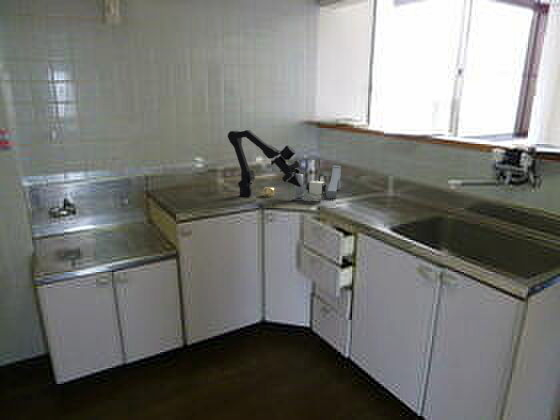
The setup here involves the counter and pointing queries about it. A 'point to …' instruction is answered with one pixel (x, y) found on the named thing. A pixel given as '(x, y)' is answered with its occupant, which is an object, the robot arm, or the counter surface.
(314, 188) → the pneumatic valve
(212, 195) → the counter surface
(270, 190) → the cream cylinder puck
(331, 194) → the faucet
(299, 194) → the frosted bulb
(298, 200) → the dark grey metal disc
